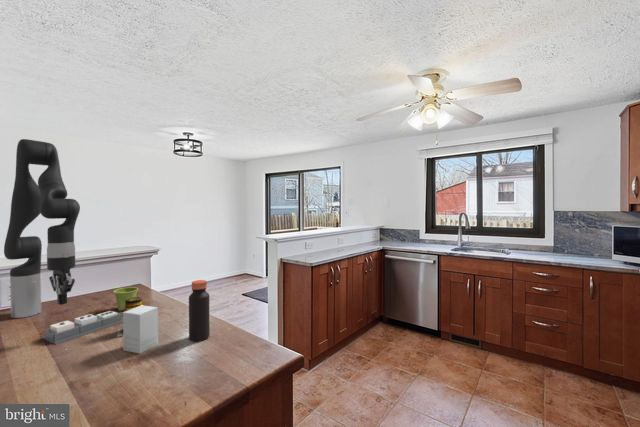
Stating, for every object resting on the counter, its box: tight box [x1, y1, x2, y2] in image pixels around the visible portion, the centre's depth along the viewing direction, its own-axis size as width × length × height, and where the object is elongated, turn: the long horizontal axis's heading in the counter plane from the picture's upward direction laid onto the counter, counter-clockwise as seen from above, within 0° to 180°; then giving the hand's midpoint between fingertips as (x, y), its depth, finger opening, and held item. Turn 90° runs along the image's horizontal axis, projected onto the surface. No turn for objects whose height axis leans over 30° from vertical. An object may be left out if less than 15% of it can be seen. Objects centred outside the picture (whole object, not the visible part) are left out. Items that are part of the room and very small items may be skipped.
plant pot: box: [113, 286, 139, 312], centre depth 134 cm, size 9×9×9 cm
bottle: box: [188, 279, 210, 342], centre depth 105 cm, size 7×7×20 cm
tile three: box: [96, 310, 118, 319], centre depth 118 cm, size 5×5×3 cm
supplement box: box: [122, 304, 159, 355], centre depth 98 cm, size 7×7×13 cm
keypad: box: [41, 310, 123, 345], centre depth 111 cm, size 10×22×3 cm, turn 153°
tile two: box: [74, 313, 97, 326], centre depth 111 cm, size 5×5×3 cm
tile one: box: [49, 320, 74, 333], centre depth 105 cm, size 5×5×3 cm
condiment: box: [116, 296, 143, 338], centre depth 110 cm, size 7×8×12 cm
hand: (62, 303), depth 105 cm, fingers closed
